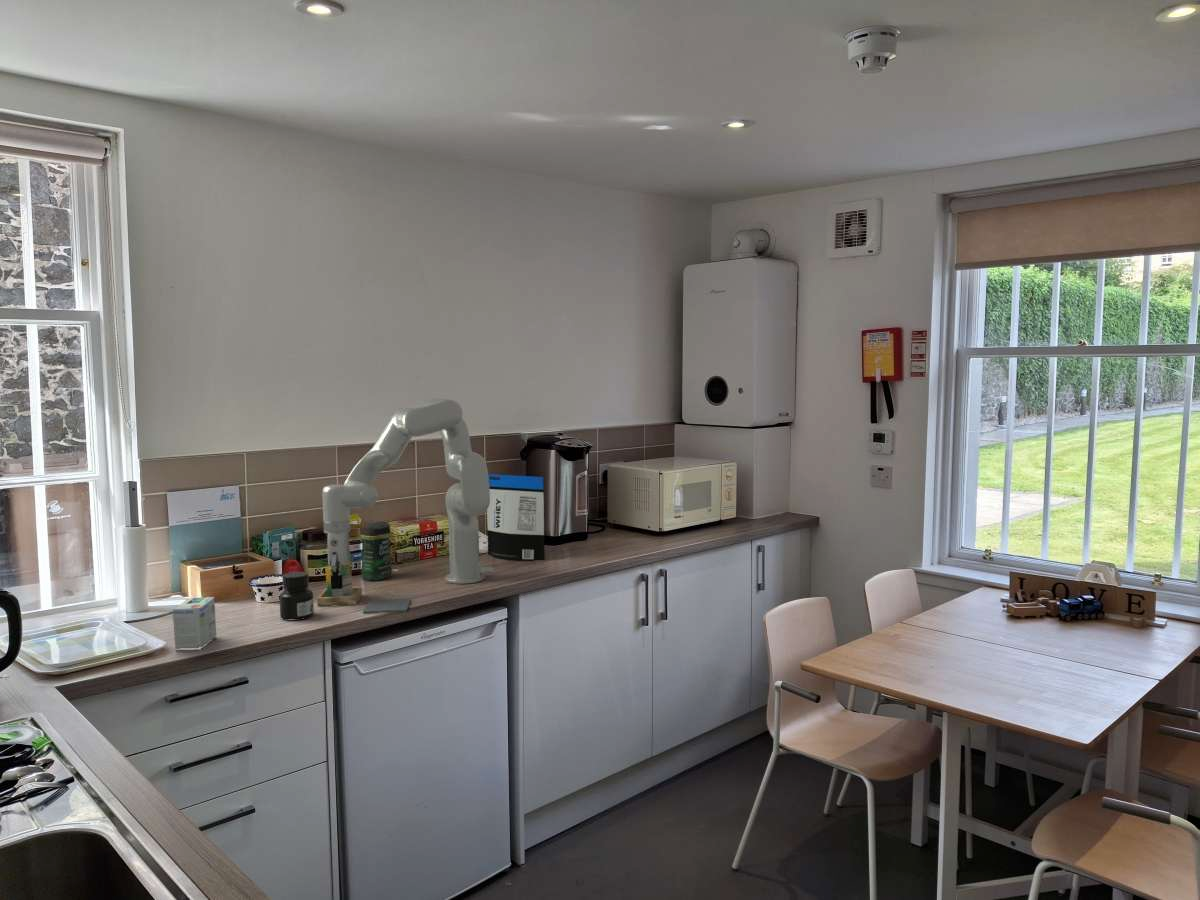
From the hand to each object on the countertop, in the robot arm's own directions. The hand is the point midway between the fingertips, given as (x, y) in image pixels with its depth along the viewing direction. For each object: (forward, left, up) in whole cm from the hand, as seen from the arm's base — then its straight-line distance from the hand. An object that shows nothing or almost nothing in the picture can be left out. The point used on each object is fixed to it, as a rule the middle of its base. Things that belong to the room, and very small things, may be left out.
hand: (339, 584), depth 256 cm
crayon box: (0, 0, -5) cm, 5 cm away
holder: (0, 0, -5) cm, 5 cm away
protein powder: (-53, -50, -5) cm, 73 cm away
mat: (-15, +9, -5) cm, 18 cm away
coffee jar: (-7, -27, -5) cm, 28 cm away
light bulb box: (+29, +36, -5) cm, 46 cm away
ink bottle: (+9, +15, -5) cm, 18 cm away
